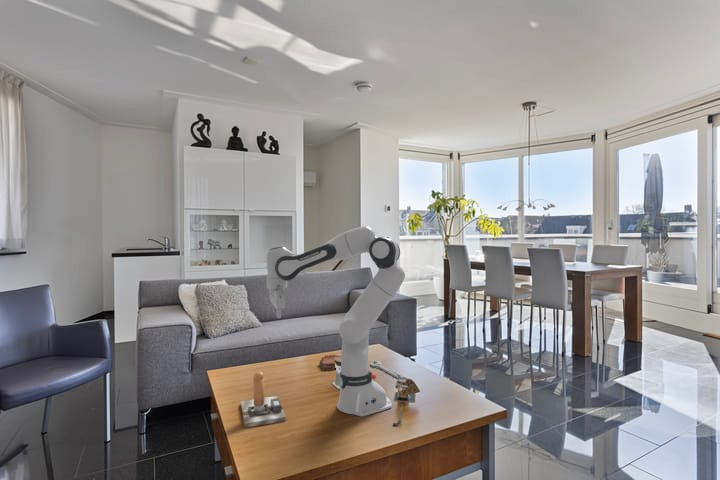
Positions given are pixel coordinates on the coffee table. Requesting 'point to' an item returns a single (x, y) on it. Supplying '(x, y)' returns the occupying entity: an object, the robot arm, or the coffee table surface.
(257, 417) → the metal mounting plate
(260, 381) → the tan rounded rod
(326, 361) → the pottery shard
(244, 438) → the coffee table surface
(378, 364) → the adjustable wrench
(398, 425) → the tactical tomahawk
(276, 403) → the block
